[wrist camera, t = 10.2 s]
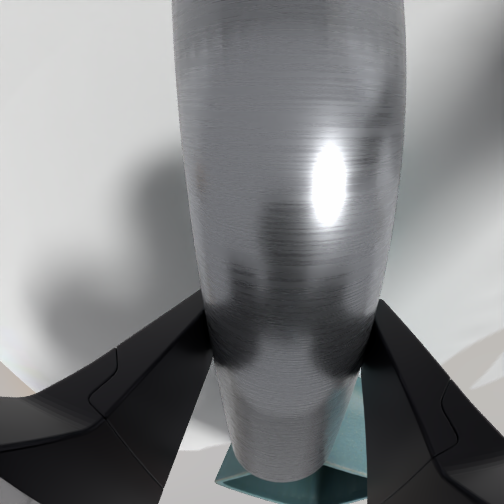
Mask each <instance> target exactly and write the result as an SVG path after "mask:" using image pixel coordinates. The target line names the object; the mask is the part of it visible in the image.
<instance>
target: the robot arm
mask: <svg viewBox="0 0 504 504" xmlns="http://www.w3.org/2000/svg"><path fill="white" fill-rule="evenodd" d="M212 357H213V353H212V348H211V342H210V337H209V331H208V326H207V320H206V315H205V309H204V303H203V297H202V291H201V289H200V290H199V291H197V292H196V293H194V294H193V295H191V296H190V297H188V298H187V299H185V300H184V301H183V302H181V303H180V304H178V305H177V306H175V307H174V308H172V309H171V310H169V311H168V312H166V313H165V314H164V315H162V316H161V317H159V318H158V319H156V320H155V321H153V322H152V323H150V324H149V325H147V326H146V327H144V328H143V329H142V330H140V331H139V332H137V333H136V334H134V335H133V336H131V337H130V338H128V339H127V340H125V341H124V342H122V343H121V344H120V345H118V346H117V349H116V348H114V349H112V350H111V351H109V352H108V353H106V354H105V355H103V356H102V357H100V358H99V359H97V360H95V361H94V362H92V363H91V364H89V365H87V366H86V367H84V368H82V369H80V370H79V371H77V372H75V373H74V374H72V375H70V376H68V377H66V378H64V379H63V380H61V381H59V382H57V383H55V384H53V385H51V386H50V387H48V388H46V389H44V390H42V391H40V392H38V393H36V394H33V395H30V396H26V397H17V398H16V397H0V504H158V503H159V500H160V497H161V495H162V492H163V488H164V486H165V484H166V481H167V479H168V475H169V473H170V471H171V468H172V465H173V463H174V460H175V457H176V455H177V452H178V450H179V447H180V444H181V442H182V439H183V436H184V434H185V431H186V428H187V426H188V423H189V420H190V418H191V415H192V413H193V410H194V407H195V405H196V402H197V399H198V397H199V394H200V391H201V389H202V386H203V383H204V381H205V378H206V376H207V373H208V370H209V367H210V364H211V361H212ZM361 383H362V394H363V406H364V420H365V436H366V457H367V504H504V437H503V436H502V435H501V433H500V432H499V431H498V430H496V428H495V427H494V426H493V425H492V424H491V423H490V422H489V421H488V420H487V419H486V418H485V417H484V416H483V415H482V414H481V412H480V411H479V410H478V409H477V408H476V407H475V406H474V405H473V404H472V403H471V402H470V400H469V399H468V398H467V397H466V396H465V395H464V393H463V392H462V391H461V390H460V389H459V387H458V386H457V385H456V384H455V383H454V382H453V380H450V377H449V375H448V374H447V373H446V372H445V371H444V369H443V368H442V367H441V366H440V364H439V363H438V362H437V361H436V360H435V359H434V357H433V356H432V355H431V354H430V353H429V351H428V350H427V349H426V348H425V347H424V346H423V344H422V343H421V342H420V341H419V340H418V339H417V337H416V336H415V335H414V334H413V333H412V332H411V331H410V329H409V328H408V327H407V326H406V325H405V324H404V323H403V322H402V320H401V319H400V318H399V317H398V316H397V315H396V314H395V313H394V311H393V310H392V309H391V308H390V307H389V306H388V305H387V304H386V303H385V302H384V301H383V300H382V299H379V301H378V305H377V309H376V313H375V317H374V321H373V325H372V329H371V333H370V336H369V340H368V344H367V347H366V351H365V354H364V358H363V361H362V364H361Z"/></svg>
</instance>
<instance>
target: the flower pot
mask: <svg viewBox="0 0 504 504" xmlns="http://www.w3.org/2000/svg"><path fill="white" fill-rule="evenodd" d="M215 483H216V484H219V485H221V486H224V487H226V488H229V489H232V490H236V491H238V492H241V493H244V494H248V495H251V496H254V497H257V498H260V499H264V500H267V501H271V502H274V503H278V504H349V503H353V502H356V501H360V500H364V499H367V457H366V436H365V420H364V406H363V394H362V383H361V378H360V377H357V381H356V384H355V387H354V390H353V393H352V396H351V399H350V402H349V405H348V407H347V410H346V413H345V416H344V419H343V421H342V424H341V427H340V429H339V432H338V435H337V437H336V440H335V442H334V445H333V447H332V450H331V452H330V455H329V457H328V459H327V460H326V462H325V463H324V464H323V465H322V466H321V467H320V468H319V469H318V470H317V471H316V472H314V473H313V474H311V475H310V476H308V477H306V478H303V479H300V480H297V481H293V482H284V483H282V482H271V481H267V480H263V479H260V478H258V477H256V476H254V475H252V474H251V473H249V472H248V471H247V470H245V468H244V467H243V466H242V465H241V464H240V463H239V461H238V460H237V458H236V456H235V454H234V451H233V447H232V443H231V445H230V447H229V449H228V451H227V454H226V456H225V458H224V461H223V463H222V465H221V468H220V470H219V472H218V474H217V477H216V479H215Z"/></svg>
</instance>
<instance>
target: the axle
mask: <svg viewBox="0 0 504 504" xmlns="http://www.w3.org/2000/svg"><path fill="white" fill-rule="evenodd" d="M172 21H173V41H174V58H175V73H176V86H177V99H178V110H179V121H180V132H181V142H182V151H183V160H184V169H185V178H186V186H187V194H188V202H189V210H190V217H191V225H192V232H193V239H194V246H195V253H196V259H197V266H198V272H199V279H200V285H201V291H202V297H203V303H204V309H205V315H206V320H207V326H208V331H209V337H210V342H211V348H212V353H213V358H214V363H215V368H216V373H217V378H218V383H219V388H220V393H221V398H222V402H223V407H224V412H225V416H226V421H227V425H228V430H229V434H230V438H231V443H232V447H233V451H234V454H235V456H236V458H237V460H238V461H239V463H240V464H241V465H242V466H243V467H244V468H245V470H247V471H248V472H249V473H251V474H252V475H254V476H256V477H258V478H260V479H263V480H267V481H271V482H282V483H284V482H293V481H297V480H300V479H303V478H306V477H308V476H310V475H311V474H313V473H314V472H316V471H317V470H318V469H319V468H320V467H321V466H322V465H323V464H324V463H325V462H326V460H327V459H328V457H329V455H330V452H331V450H332V447H333V445H334V442H335V440H336V437H337V435H338V432H339V429H340V427H341V424H342V421H343V419H344V416H345V413H346V410H347V407H348V405H349V402H350V399H351V396H352V393H353V390H354V387H355V384H356V381H357V377H358V374H359V371H360V368H361V364H362V361H363V358H364V354H365V351H366V347H367V344H368V340H369V336H370V333H371V329H372V325H373V321H374V317H375V313H376V309H377V305H378V301H379V297H380V292H381V288H382V283H383V279H384V274H385V269H386V264H387V259H388V254H389V248H390V243H391V237H392V231H393V225H394V218H395V212H396V205H397V198H398V190H399V182H400V173H401V163H402V153H403V141H404V126H405V107H406V33H405V15H404V2H403V0H172Z"/></svg>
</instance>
